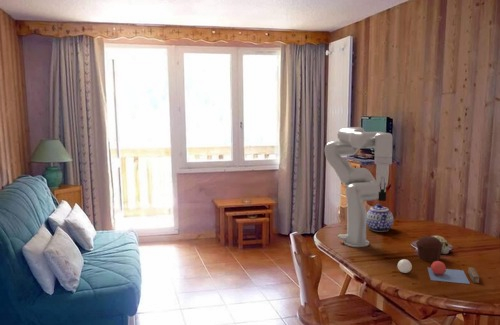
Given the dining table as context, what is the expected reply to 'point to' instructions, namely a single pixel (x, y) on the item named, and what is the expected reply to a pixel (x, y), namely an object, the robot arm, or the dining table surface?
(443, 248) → the seashell
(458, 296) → the dining table surface
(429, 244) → the muffin
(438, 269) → the red ball
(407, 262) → the cue ball
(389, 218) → the teapot
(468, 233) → the dining table surface
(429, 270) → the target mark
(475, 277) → the stopper wall
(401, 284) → the dining table surface
